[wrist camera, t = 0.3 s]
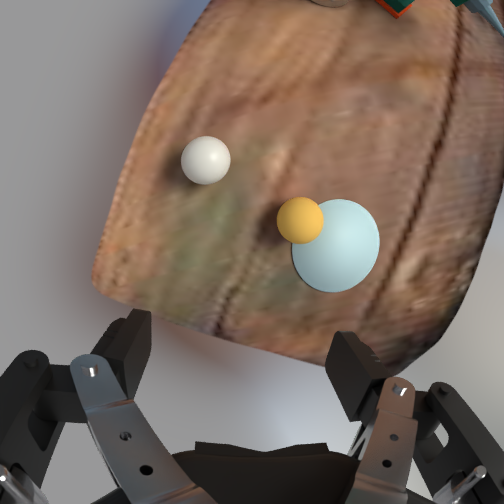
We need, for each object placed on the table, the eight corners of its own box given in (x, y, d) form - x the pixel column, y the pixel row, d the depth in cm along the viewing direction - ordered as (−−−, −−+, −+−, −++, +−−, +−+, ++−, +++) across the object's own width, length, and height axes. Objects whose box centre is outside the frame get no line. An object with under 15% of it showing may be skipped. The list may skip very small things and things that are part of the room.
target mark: (310, 185, 37) (311, 185, 37) (390, 217, 40) (391, 218, 39) (278, 278, 40) (278, 279, 40) (358, 300, 43) (359, 300, 42)
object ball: (281, 189, 37) (291, 191, 31) (321, 203, 38) (337, 208, 32) (267, 231, 39) (274, 240, 33) (307, 243, 39) (320, 255, 34)
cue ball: (192, 134, 34) (186, 126, 29) (236, 146, 35) (237, 140, 30) (179, 177, 36) (170, 177, 30) (222, 189, 37) (221, 191, 31)
